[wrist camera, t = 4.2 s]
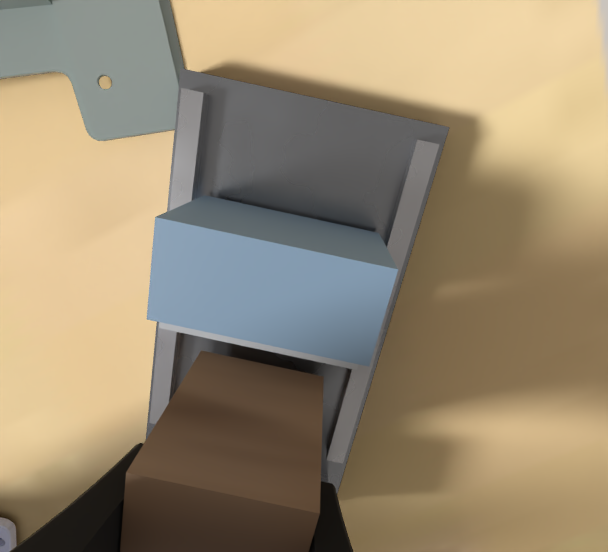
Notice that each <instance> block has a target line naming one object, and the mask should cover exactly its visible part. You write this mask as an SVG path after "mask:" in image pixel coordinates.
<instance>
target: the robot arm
mask: <svg viewBox="0 0 608 552" xmlns="http://www.w3.org/2000/svg"><path fill="white" fill-rule="evenodd" d="M142 446H143V443H139V444H138V445H136V446H135V447H134V448H133V449H132V450H131V451H130V452H129V453H127V454H126V455H125V456H124V457H123V458H122V459H121V460H120V461H119V462H118V463H117V464H116V465H115V466H114V467H113V468H111V469H110V470H109V471H108V472H107V473H106V474H105V475H104V476H103V477H102V478H100V479H99V480H98V481H97V482H96V483H95V484H94V485H92V486H91V487H90V488H89V489H88V490H87V491H85V492H84V493H83V494H82V495H81V496H80V497H78V498H77V499H76V500H75V501H74V502H73V503H71V504H70V505H69V506H68V507H67V508H65V509H64V510H63V511H62V512H60V513H59V514H58V515H57V516H55V517H54V518H53V519H51V520H50V521H49V522H48V523H46V524H45V525H44V526H43V527H41V528H40V529H39V530H37V531H36V532H35V533H34V534H32V535H31V536H30V537H28V538H27V539H26V540H24V541H23V542H22V543H20V544H19V545H18V546H17V544H16V527H15V524H14V523H13V522H12V521H10V520H9V519H6V518H2V517H0V552H120V545H121V532H122V519H123V506H124V493H125V480H126V472H127V470H128V469H129V467H130V465H131V464H132V462H133V460H134V459H135V457H136V456H137V454H138V452H139V451H140V449H141V447H142ZM309 552H353V549H352V547H351V543H350V540H349V537H348V534H347V531H346V527H345V524H344V521H343V517H342V513H341V510H340V506H339V502H338V497H337V493H336V488H335V486H334V485H333V484H332V483H327V482H323V481H321V490H320V515H319V518H318V521H317V525H316V528H315V532H314V535H313V539H312V542H311V545H310V549H309Z"/></svg>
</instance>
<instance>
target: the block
mask: <svg viewBox="0 0 608 552" xmlns="http://www.w3.org/2000/svg"><path fill="white" fill-rule="evenodd" d="M323 381H324V377H323V376H318V375H314V374H309V373H304V372H300V371H295V370H290V369H286V368H281V367H276V366H272V365H267V364H262V363H258V362H253V361H248V360H244V359H239V358H234V357H230V356H225V355H220V354H216V353H211V352H206V351H202V350H201V352H200V353H199V355H198V356H197V358H196V360H195V361H194V363H193V365H192V366H191V368H190V369H189V371H188V373H187V374H186V376H185V378H184V379H183V381H182V382H181V384H180V386H179V387H178V389H177V391H176V392H175V394H174V395H173V397H172V399H171V400H170V402H169V404H168V405H167V407H166V408H165V410H164V412H163V413H162V415H161V417H160V418H159V420H158V421H157V423H156V425H155V426H154V428H153V430H152V431H151V433H150V434H149V436H148V438H147V439H146V441H145V443H144V444H143V446H142V447H141V449H140V451H139V452H138V454H137V456H136V457H135V459H134V460H133V462H132V464H131V465H130V467H129V469H128V470H127V472H126V480H125V493H124V506H123V519H122V532H121V545H120V552H309V549H310V545H311V542H312V539H313V535H314V532H315V528H316V525H317V521H318V518H319V515H320V490H321V453H322V417H323Z"/></svg>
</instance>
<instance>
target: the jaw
mask: <svg viewBox="0 0 608 552" xmlns="http://www.w3.org/2000/svg"><path fill="white" fill-rule="evenodd" d="M397 272H398V268H397V266H396V264H395V262H394V260H393V258H392V257H391V255H390V253H389V251H388V249H387V247H386V245H385V243H384V242H383V240H382V238H381V236H380V234H379V233H377V232H372V231H368V230H363V229H358V228H354V227H349V226H345V225H340V224H335V223H331V222H326V221H321V220H317V219H312V218H308V217H303V216H298V215H294V214H289V213H284V212H280V211H275V210H271V209H266V208H261V207H257V206H252V205H248V204H243V203H238V202H234V201H229V200H224V199H220V198H215V197H211V196H206V195H204V196H202V197H199V198H197V199H195V200H193V201H190V202H188V203H186V204H184V205H181V206H179V207H177V208H175V209H172V210H170V211H168V212H166V213H163V214H161V215H159V216H157V217H155V227H154V239H153V251H152V263H151V275H150V287H149V299H148V310H147V319H148V320H152V321H157V322H159V328H162V329H166V330H171V331H176V332H180V333H185V334H190V335H194V336H199V337H204V338H208V339H213V340H218V341H223V342H227V343H232V344H237V345H241V346H246V347H251V348H255V349H260V350H265V351H269V352H274V353H279V354H284V355H288V356H293V357H298V358H302V359H307V360H312V361H316V362H321V363H326V364H331V365H335V366H340V367H345V368H349V369H354V370H357V368H358V364H359V365H363V366H368V367H369V366H370V363H371V359H372V356H373V353H374V349H375V346H376V343H377V339H378V336H379V333H380V329H381V326H382V323H383V319H384V316H385V313H386V309H387V306H388V303H389V299H390V296H391V292H392V289H393V286H394V282H395V279H396V276H397Z"/></svg>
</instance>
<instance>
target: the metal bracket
mask: <svg viewBox="0 0 608 552" xmlns="http://www.w3.org/2000/svg"><path fill="white" fill-rule="evenodd" d="M181 68H182V69H184V64H183V60H182V55H181V50H180V46H179V41H178V37H177V32H176V28H175V23H174V19H173V14H172V9H171V5H170V0H0V79H4V78H12V77H20V76H28V75H36V74H44V73H52V72H59V73H64V74H65V75H67V76H68V78H69V79H70V81H71V83H72V86H73V89H74V92H75V95H76V99H77V102H78V105H79V108H80V111H81V115H82V118H83V121H84V124H85V127H86V130H87V132H88V134H89V135H90V136H91V137H92V138H93V139H96V140H98V141H107V140H113V139H120V138H126V137H133V136H139V135H146V134H152V133H158V132H165V131H171V130H175V122H176V112H177V101H178V90H179V80H180V69H181ZM102 76H108V77H110V79H111V80H112V86H111V87H110V88H109V89H102V88H101V87H100V85H99V79H100V78H101V77H102Z"/></svg>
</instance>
